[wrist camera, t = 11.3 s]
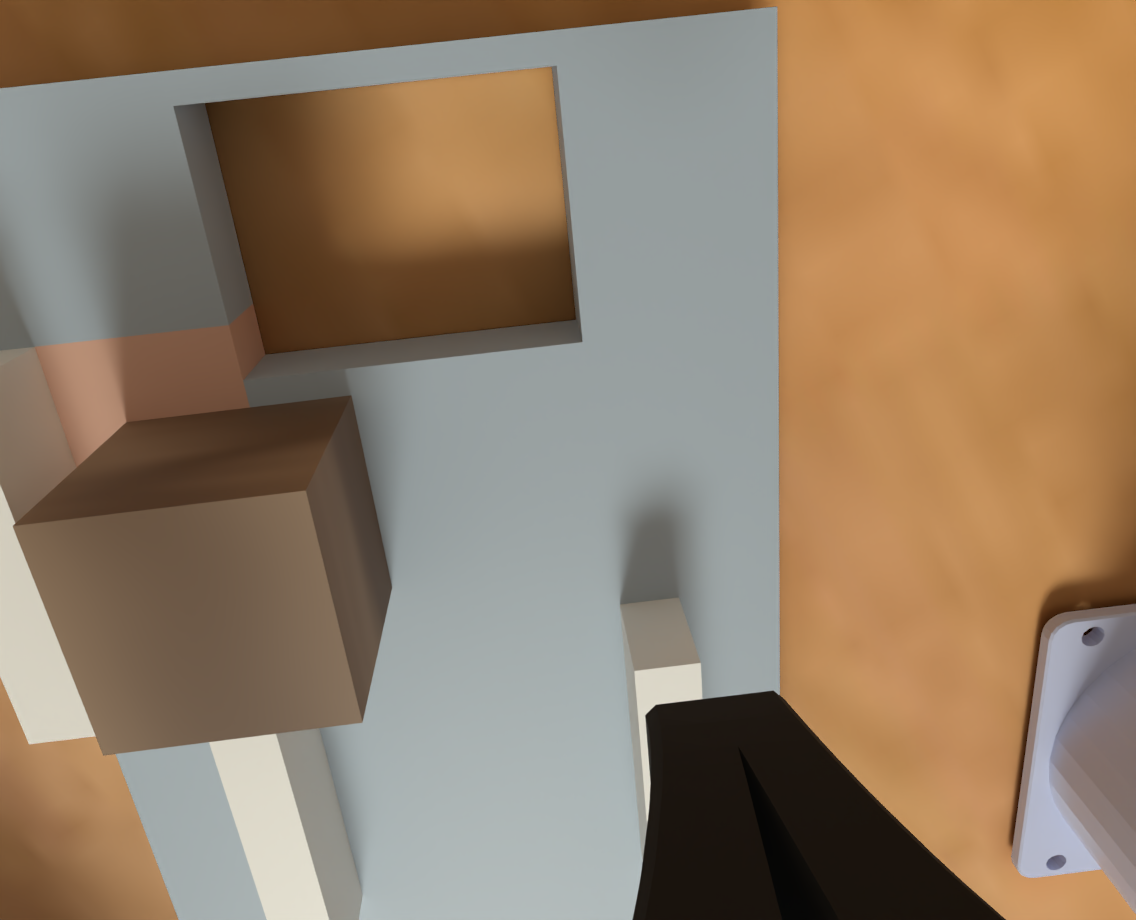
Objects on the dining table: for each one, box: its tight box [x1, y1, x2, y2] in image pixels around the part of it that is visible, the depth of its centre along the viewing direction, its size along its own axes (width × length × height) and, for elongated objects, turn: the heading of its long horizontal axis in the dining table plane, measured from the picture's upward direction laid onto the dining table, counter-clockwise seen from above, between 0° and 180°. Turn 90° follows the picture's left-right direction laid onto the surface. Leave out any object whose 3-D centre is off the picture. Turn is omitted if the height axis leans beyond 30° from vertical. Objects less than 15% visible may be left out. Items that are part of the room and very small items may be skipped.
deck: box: [0, 7, 780, 920], centre depth 18 cm, size 14×24×4 cm, turn 6°
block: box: [13, 395, 392, 756], centre depth 15 cm, size 4×4×4 cm
